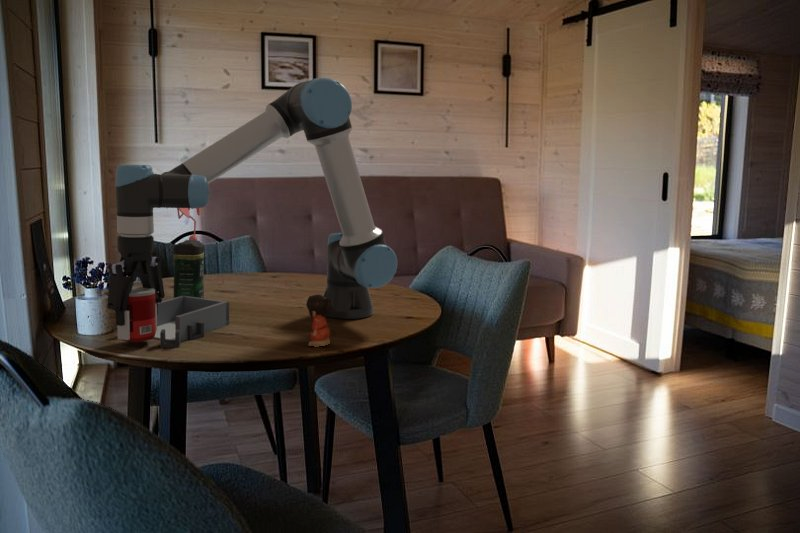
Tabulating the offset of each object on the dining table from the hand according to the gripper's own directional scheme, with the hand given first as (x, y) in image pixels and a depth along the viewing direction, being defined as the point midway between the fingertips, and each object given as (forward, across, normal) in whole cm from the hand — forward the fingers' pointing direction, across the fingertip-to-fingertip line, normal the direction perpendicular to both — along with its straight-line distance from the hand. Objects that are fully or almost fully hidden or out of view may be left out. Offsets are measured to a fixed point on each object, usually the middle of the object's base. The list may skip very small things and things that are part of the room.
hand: (138, 334), depth 151 cm
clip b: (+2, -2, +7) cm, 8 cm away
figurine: (+3, -19, +36) cm, 41 cm away
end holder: (+2, -15, 0) cm, 15 cm away
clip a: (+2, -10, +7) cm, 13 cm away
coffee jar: (+3, -38, -16) cm, 42 cm away
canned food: (+1, 0, 0) cm, 1 cm away
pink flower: (+3, -66, -33) cm, 74 cm away
